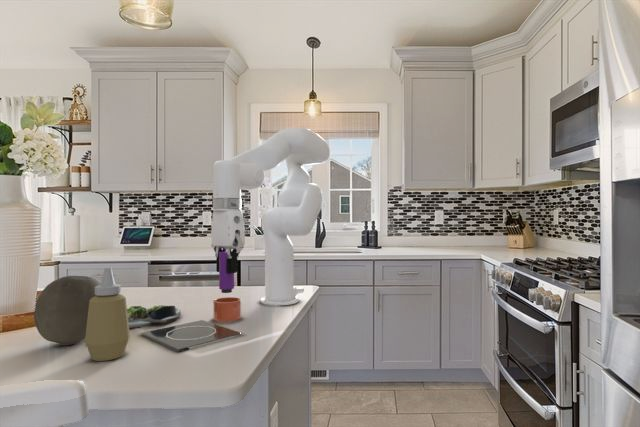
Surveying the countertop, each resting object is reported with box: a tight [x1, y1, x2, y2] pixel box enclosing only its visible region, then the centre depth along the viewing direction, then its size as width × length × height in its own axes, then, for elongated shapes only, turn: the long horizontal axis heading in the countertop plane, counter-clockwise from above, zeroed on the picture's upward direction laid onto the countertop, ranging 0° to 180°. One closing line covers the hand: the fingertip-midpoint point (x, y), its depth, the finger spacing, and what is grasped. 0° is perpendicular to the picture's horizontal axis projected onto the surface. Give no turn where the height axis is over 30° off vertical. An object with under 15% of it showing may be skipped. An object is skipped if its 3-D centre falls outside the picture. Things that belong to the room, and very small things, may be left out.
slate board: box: [141, 319, 242, 353], centre depth 95 cm, size 16×18×1 cm
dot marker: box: [218, 251, 235, 294], centre depth 109 cm, size 4×4×11 cm
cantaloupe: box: [33, 275, 101, 346], centre depth 90 cm, size 14×14×15 cm
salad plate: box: [127, 304, 181, 329], centre depth 108 cm, size 19×18×5 cm
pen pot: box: [212, 296, 242, 323], centre depth 110 cm, size 7×7×6 cm
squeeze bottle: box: [84, 266, 131, 362], centre depth 81 cm, size 8×8×18 cm
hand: (226, 271), depth 109 cm, fingers closed on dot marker, 4 cm apart
